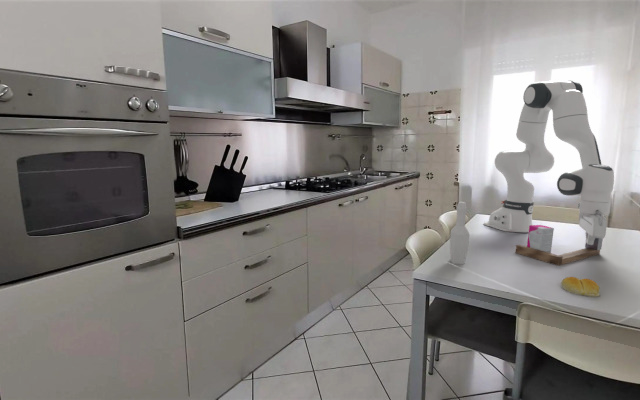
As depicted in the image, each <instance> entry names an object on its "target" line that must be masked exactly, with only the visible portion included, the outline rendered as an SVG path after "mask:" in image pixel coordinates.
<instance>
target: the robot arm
mask: <svg viewBox="0 0 640 400" xmlns="http://www.w3.org/2000/svg"><path fill="white" fill-rule="evenodd" d="M583 92H584V90H583V86H582V84H581V83H580V82H577V81H575V80H559V79H558V80H556V79H555V80H549V81H547V80H546V81H537V82H533V83H530V84H529V85H528V86H527V87H526V88H525V90H524V92H523V102H524V104H523V106H522V109H521V111H520V116H519V120H518V124H517V127H516V128H517V129H516V138H517V139H518V141H520V142H522V143H523V144H525V149H509V150H504V151H503V150H502V151H499V153H497V155H496V156H495V158H494V166H495V168H496V169H497V171H499V172H500V173H501V174H502V175H503V176H504V178H505V181H506V184H507V186H506V187H507V194H506V199H505V200H503V201H502V200H501V204H503V205H502V206H501V207H499V208H498V209H496V210H494V211H492V212H491V213H490V214H489V218H488V220H486V221H484V222H483V225H484V226H488V227H490V228H493V229H497V230H500V231H503V232H509V233H510V232H514V233H515V232H516V233H529V226H530V225H533V211H534V204H535V203H534V194H535V193H534V192H535V186H534V184H533V183H532V182H530V181H528V180H526V179H525V177H524V174H539V173H547V172H550V171H551V169H552V168H553V167H554V165H555V157H554V155H553V153H552V152H550V151H549V150H548V148H547V146H546V143H545V133H546V129H547V124H548V118H549V115H550V111H552V123H553V124H552V125H553V132H554V134H555V137H557V138H558V139H559V140H560V141H563V142H565V143H567V144H568V145H571V146H572V147H574V148H575V149H576V150H577V152H578V154H579V158H580V163H581V168H580V169H577V170H572V171H568V172H564V173H562V174H560V175H559V177H558V178H557V182H556V187H557V189H558V192H559V193H560V194H561V195H563V196H566V197H567V196H568V197H580V201H579V203H578V206H577V208H578V212H579V213H578V226H579V227H580V228H581V229H583V231H585V233H584V234H585V244H586V243H587V244H588V245H593V244H594V240H595V238H602V239H604V238H606V236H607V235H606V233H607V227H608V225H607V224H608V220H607V218H606V216H608V215H610V211H611V210H610V209H611V205H612V198H611V195H612V193H613V190H614V183H615V172H614V169H613V168H612V166H611V167H610V166H609V165H605V164H602V161H601V155H600V151H599V146H598V142H597V139H596V136H595V134H594V133H593V132H592V130H591V129H592V128H591V125H590V123H589V117H588V115H589V114H588V108H587V102H586V99H585V97H584V94H583Z"/></svg>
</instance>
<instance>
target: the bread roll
mask: <svg viewBox="0 0 640 400" xmlns="http://www.w3.org/2000/svg"><path fill="white" fill-rule="evenodd" d="M560 287H561V288H562V289H563V290H565V291H566V292H569V293H571V294H574V295H575V294H576V295H578V296H585V297H591V298H594V297H595V298H596V297H600V295H601V292H600V286H599V285H598V283H597V282H595V281H594V280H592V279H589V278H577V277H575V276H568V277H565V278H563V279H562V280H561V283H560Z"/></svg>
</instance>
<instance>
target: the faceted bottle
mask: <svg viewBox="0 0 640 400" xmlns="http://www.w3.org/2000/svg"><path fill="white" fill-rule="evenodd" d="M467 210H468V207H467V203H466V201H458V203H457V205H456V221H455V223H456V224H455V225H454V226H453V227H452V228H451V230H450V234H449V235H450V236H449V249H450V250H449V251H450V262H451V263H452V264H454V265H464V264H465V262H466V259H467V254H468V249H469V242H470V232H469V230H468V228H467V227H466V216H467Z"/></svg>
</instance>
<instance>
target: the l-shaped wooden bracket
mask: <svg viewBox="0 0 640 400" xmlns="http://www.w3.org/2000/svg"><path fill="white" fill-rule="evenodd" d="M603 239H604V238H603ZM603 239H602V238H595V240H594V244H593V245H588V244H587V243H586V242H585V244H584V248H581V249H578V250H574V251H570V252H565V253H563V254H554V253H552V252H551V253H548V252H544V251H541V250H537V249H534V248H530V247H527V245H523V244H517V245H515V254H518V255H522V256H526V257H528V258H532V259H535V260H539V261H540V262H541V261H542V262H546V263H549V264H552V265H554V266H562V265H565V264H568V263H569V264H570V263H572V262H576V261H580V260H584V259H588V258H589V257H594V256H596V255H600V253H601V250H602V246H603Z"/></svg>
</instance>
